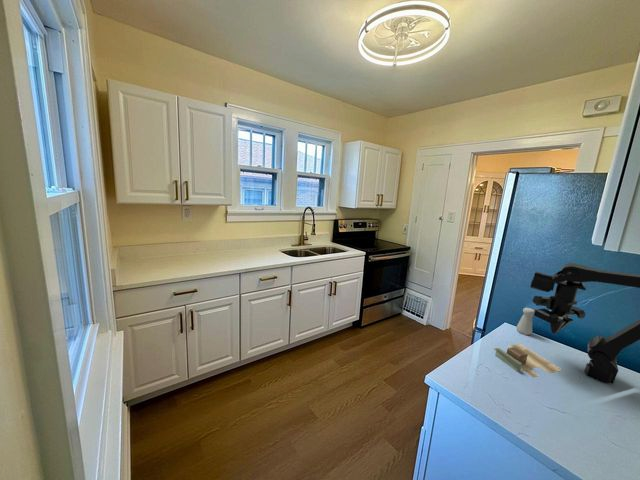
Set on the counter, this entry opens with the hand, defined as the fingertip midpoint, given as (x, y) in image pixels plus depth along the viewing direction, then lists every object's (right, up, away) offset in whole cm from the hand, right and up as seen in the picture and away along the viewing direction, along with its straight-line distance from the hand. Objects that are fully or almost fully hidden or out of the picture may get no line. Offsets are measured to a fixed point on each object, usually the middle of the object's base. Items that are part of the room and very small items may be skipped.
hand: (553, 333), depth 101 cm
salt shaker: (+3, -8, +20) cm, 21 cm away
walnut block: (-16, -11, -1) cm, 19 cm away
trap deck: (-11, -12, +1) cm, 16 cm away
